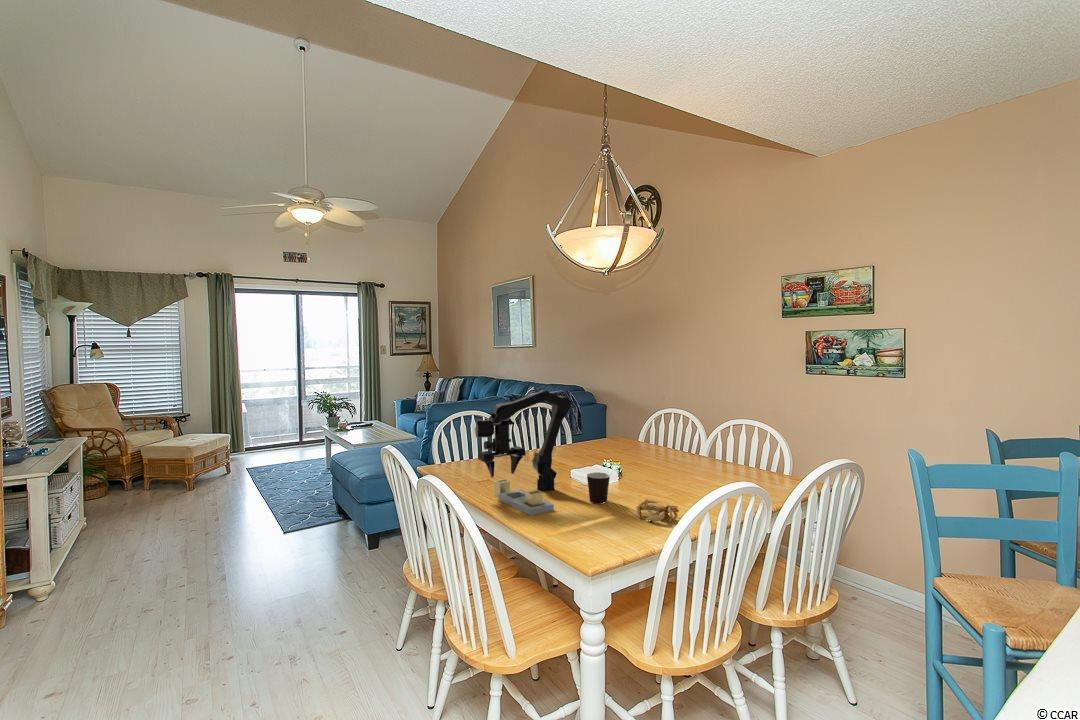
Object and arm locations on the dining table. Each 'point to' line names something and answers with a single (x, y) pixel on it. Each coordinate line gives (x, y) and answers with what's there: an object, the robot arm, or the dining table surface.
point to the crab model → (656, 507)
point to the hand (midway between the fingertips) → (502, 475)
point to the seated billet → (534, 498)
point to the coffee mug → (598, 486)
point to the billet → (502, 486)
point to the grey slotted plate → (524, 503)
